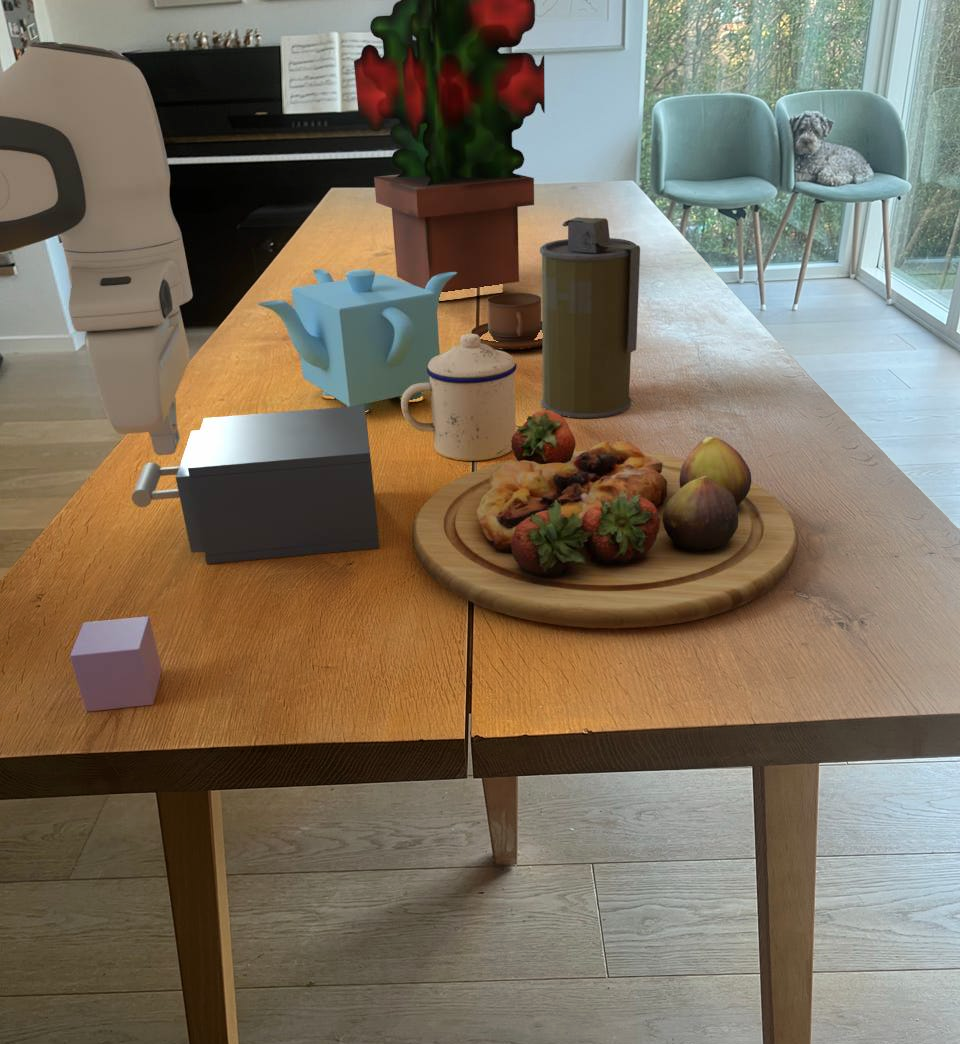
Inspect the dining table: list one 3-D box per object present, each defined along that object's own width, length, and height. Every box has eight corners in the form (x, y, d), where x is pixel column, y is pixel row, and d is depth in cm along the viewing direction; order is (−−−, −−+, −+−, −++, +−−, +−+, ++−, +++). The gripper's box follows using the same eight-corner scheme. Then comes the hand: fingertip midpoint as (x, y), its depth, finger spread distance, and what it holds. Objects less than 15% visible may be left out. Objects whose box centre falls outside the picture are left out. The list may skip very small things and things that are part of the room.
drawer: (137, 558, 86) (119, 482, 82) (156, 504, 95) (141, 434, 92) (351, 538, 87) (342, 463, 84) (348, 487, 97) (340, 418, 93)
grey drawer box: (206, 564, 86) (187, 468, 82) (219, 505, 97) (203, 417, 92) (379, 548, 87) (370, 452, 83) (373, 492, 98) (364, 405, 94)
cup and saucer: (574, 347, 139) (574, 301, 136) (495, 361, 135) (494, 313, 132) (532, 328, 148) (531, 285, 145) (457, 341, 144) (455, 296, 141)
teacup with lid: (507, 428, 112) (504, 320, 106) (527, 457, 104) (525, 342, 98) (399, 440, 110) (390, 331, 104) (411, 470, 102) (402, 354, 96)
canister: (523, 410, 117) (520, 224, 107) (570, 385, 124) (571, 209, 114) (607, 425, 112) (612, 231, 101) (650, 398, 119) (659, 215, 109)
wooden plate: (410, 482, 100) (404, 400, 96) (731, 461, 101) (739, 379, 97) (417, 652, 72) (408, 547, 68) (857, 620, 74) (875, 515, 69)
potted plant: (490, 271, 184) (480, -25, 161) (545, 295, 167) (543, -34, 144) (374, 287, 177) (346, -21, 154) (419, 313, 160) (396, -31, 136)
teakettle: (422, 426, 114) (413, 290, 106) (267, 418, 118) (248, 287, 111) (465, 376, 130) (459, 255, 122) (327, 371, 134) (313, 253, 126)
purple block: (85, 712, 68) (69, 656, 65) (98, 676, 71) (83, 622, 69) (153, 705, 68) (139, 648, 66) (162, 670, 72) (149, 615, 70)
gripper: (113, 258, 88) (148, 413, 96) (62, 314, 71) (109, 498, 78) (187, 253, 89) (216, 407, 96) (154, 307, 72) (192, 490, 79)
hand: (168, 449), depth 87 cm, fingers closed
